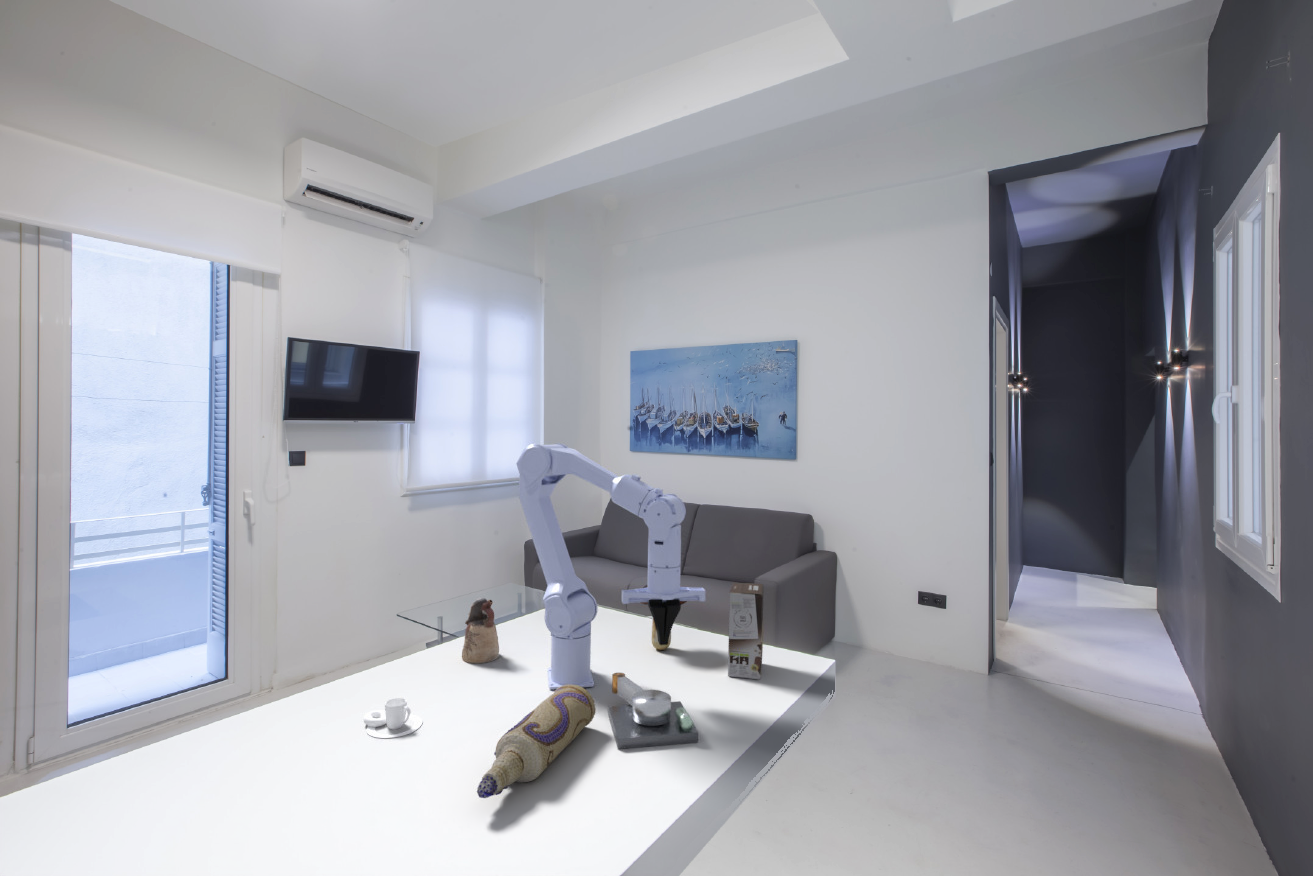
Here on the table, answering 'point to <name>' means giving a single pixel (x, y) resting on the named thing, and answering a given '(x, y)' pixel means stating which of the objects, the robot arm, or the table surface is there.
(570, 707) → the decorative bottle
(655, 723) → the silver pan
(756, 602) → the coffee box
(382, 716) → the teacup and saucer
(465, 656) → the figurine
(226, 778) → the table surface
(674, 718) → the plate
